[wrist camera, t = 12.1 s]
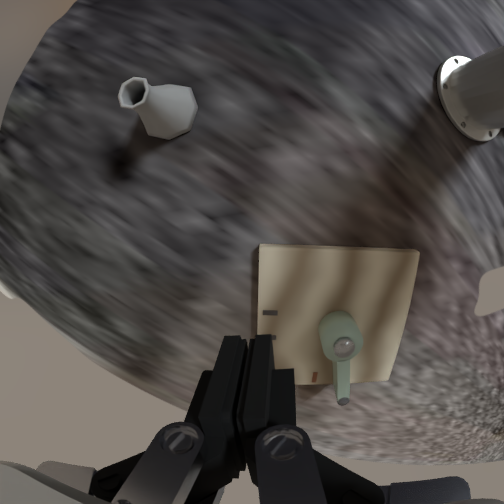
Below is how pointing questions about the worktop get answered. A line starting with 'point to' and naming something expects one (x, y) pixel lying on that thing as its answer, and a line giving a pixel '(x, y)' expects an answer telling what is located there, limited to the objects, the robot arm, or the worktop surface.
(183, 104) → the flask
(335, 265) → the lock base
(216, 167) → the worktop surface
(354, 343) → the lock lever
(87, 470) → the robot arm
